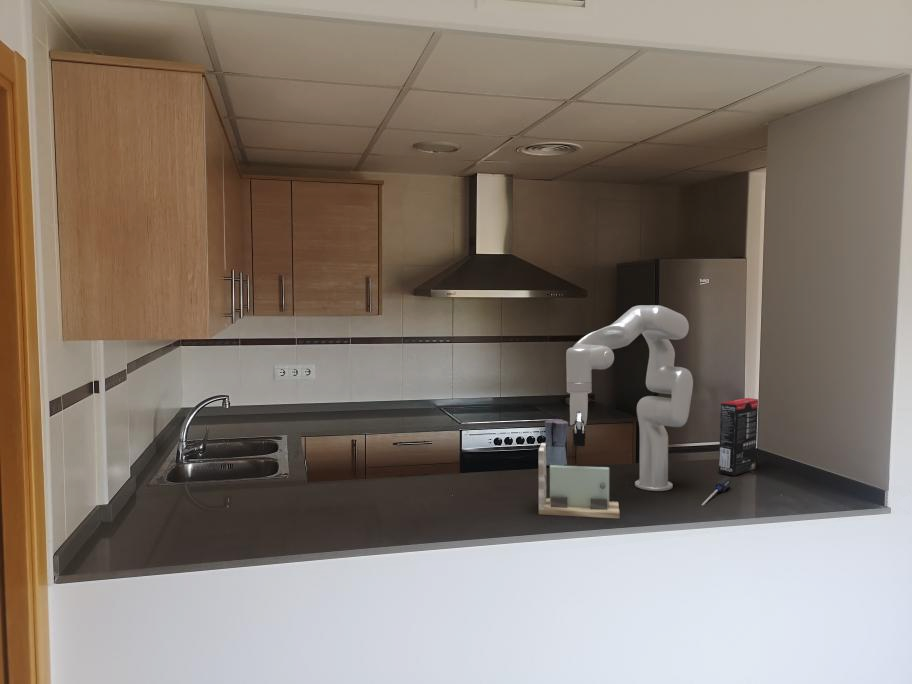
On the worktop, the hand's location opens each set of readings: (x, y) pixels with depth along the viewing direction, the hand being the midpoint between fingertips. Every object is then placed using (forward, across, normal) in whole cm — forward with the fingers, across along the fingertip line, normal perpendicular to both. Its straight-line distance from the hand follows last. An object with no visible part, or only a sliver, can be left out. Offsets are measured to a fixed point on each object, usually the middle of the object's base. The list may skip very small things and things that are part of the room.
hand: (579, 442), depth 203 cm
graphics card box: (+23, -56, +58) cm, 84 cm away
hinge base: (+21, +1, 0) cm, 21 cm away
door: (+20, 0, 0) cm, 20 cm away
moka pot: (+22, -55, -10) cm, 61 cm away
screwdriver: (+23, -22, +43) cm, 54 cm away
